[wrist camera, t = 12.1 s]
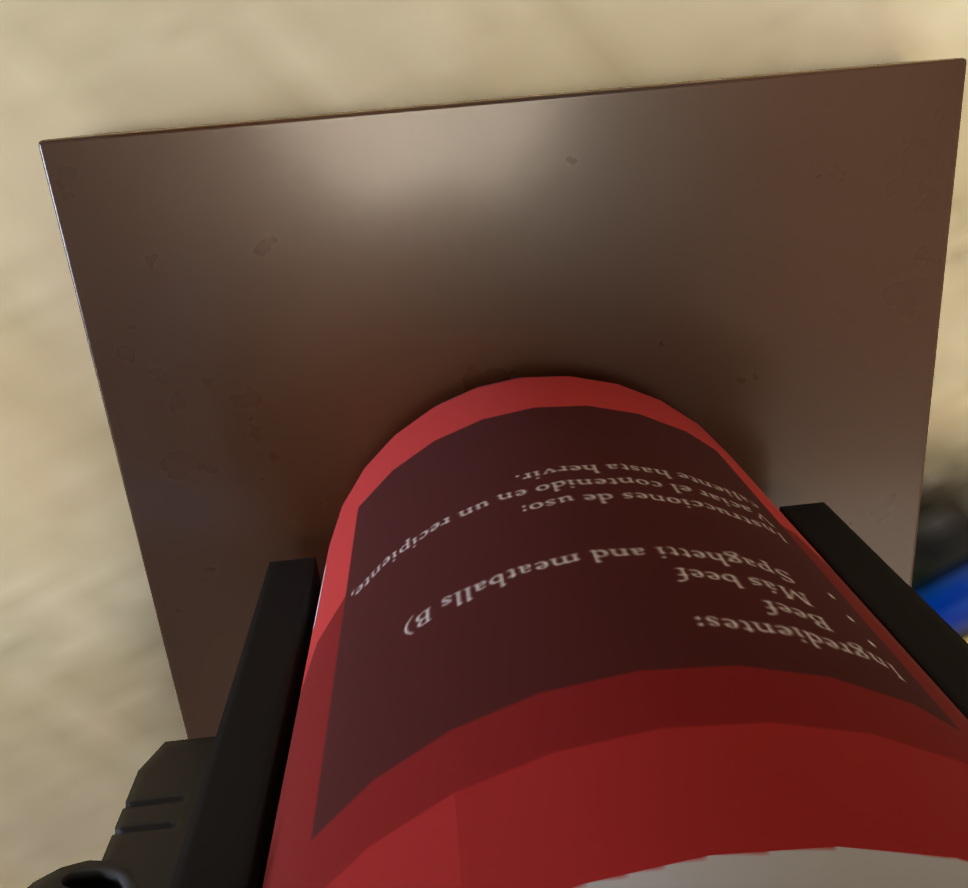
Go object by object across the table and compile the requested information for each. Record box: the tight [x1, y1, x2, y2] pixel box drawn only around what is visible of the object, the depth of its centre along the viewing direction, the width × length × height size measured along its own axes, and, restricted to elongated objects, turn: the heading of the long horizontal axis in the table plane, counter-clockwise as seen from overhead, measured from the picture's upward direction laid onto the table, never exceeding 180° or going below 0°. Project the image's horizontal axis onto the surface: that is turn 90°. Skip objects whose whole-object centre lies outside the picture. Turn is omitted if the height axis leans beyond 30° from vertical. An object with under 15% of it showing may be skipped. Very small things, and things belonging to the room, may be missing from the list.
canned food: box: [262, 376, 968, 888], centre depth 11 cm, size 8×8×11 cm
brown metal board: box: [39, 58, 966, 739], centre depth 17 cm, size 14×16×2 cm
